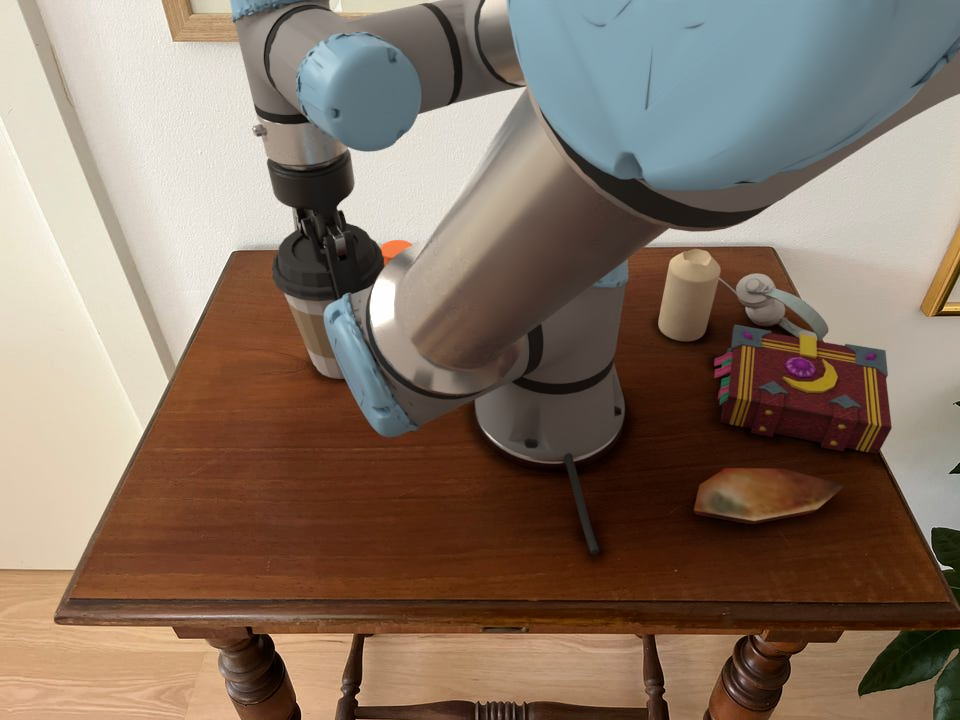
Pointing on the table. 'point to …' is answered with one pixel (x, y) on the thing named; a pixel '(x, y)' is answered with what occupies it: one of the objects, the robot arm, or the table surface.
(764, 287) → the headphones
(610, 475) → the table surface
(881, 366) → the decorative book
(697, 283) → the candle
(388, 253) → the button
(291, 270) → the coffee cup
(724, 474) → the decorative stone
